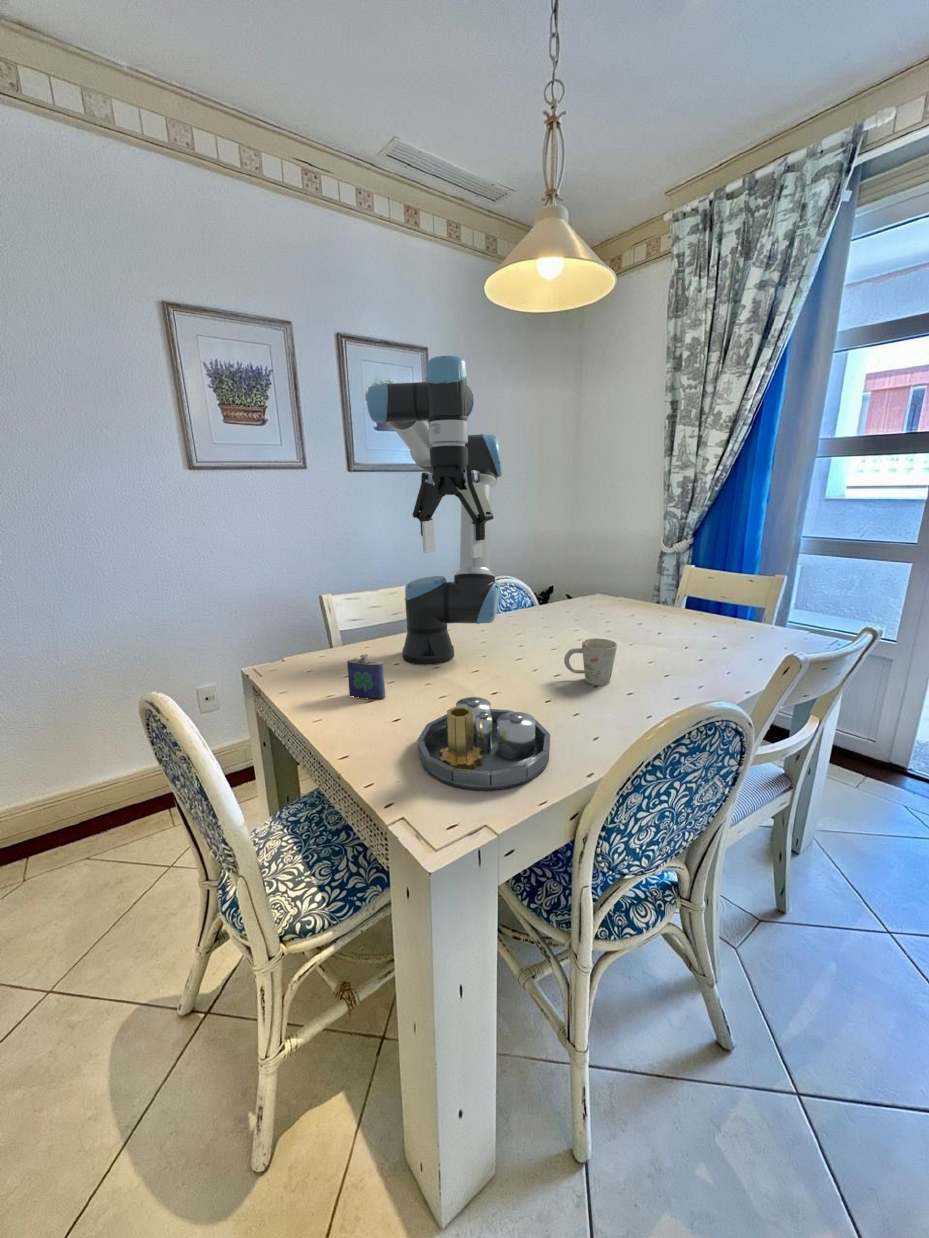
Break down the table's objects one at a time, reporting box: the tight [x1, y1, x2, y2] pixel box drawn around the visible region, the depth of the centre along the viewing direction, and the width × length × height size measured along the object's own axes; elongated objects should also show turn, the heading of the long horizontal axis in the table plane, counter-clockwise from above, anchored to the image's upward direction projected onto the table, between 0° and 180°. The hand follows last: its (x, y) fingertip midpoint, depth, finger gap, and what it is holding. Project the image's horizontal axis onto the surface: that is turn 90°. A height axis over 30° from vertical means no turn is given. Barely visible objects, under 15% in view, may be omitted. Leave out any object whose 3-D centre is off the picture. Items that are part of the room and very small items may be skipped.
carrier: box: [416, 696, 551, 792], centre depth 91 cm, size 24×24×8 cm
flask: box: [346, 653, 386, 700], centre depth 117 cm, size 9×3×11 cm, turn 74°
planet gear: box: [439, 706, 483, 770], centre depth 86 cm, size 8×8×10 cm
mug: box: [563, 637, 618, 686], centre depth 123 cm, size 8×13×10 cm, turn 78°
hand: (451, 554), depth 102 cm, fingers open, 13 cm apart
